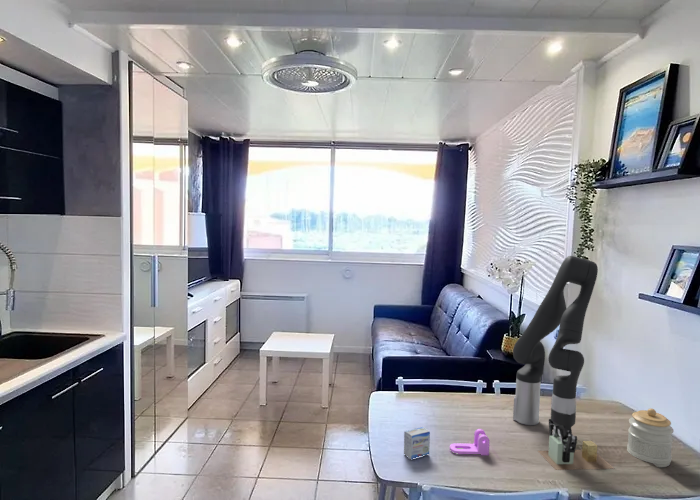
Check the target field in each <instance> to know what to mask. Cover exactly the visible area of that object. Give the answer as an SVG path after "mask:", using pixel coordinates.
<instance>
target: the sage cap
mask: <svg viewBox="0 0 700 500" xmlns="http://www.w3.org/2000/svg"><path fill="white" fill-rule="evenodd" d="M548 436H549V435H548ZM548 438H549V439H548V451H549V452H548V456H549V457H550V458H551V459H552V460H553V461H554V462H555V463H556V464H573V458H574V453H573V452H571V453H570V461H569V462H563V461H562V454H563V444H561V443H560V437H558V436H556V437H554V436H549V437H548ZM563 441H567V440H563ZM565 446H567V444H565ZM571 448H572V447H571Z"/></svg>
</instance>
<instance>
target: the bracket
mask: <svg viewBox="0 0 700 500" xmlns="http://www.w3.org/2000/svg"><path fill="white" fill-rule="evenodd" d="M473 435H474V437H473V443H465V442H464V443H462V442H461V443H460V442H459V443H458V442H456V443H455V442H454V443H450V445H449V451H450V450H451V451H452V452H454V453H458V454H481V455H480V456H489V455H490V438H489V437H488V436H487V433H486V432H485V430H484V429H483V428H478V429H475V430H474V433H473ZM457 448H463V449H457ZM452 452H451V453H452Z"/></svg>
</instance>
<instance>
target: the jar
mask: <svg viewBox="0 0 700 500" xmlns="http://www.w3.org/2000/svg"><path fill="white" fill-rule="evenodd" d="M631 416H632V417H630V418H629V419H628V422H629V424H630V425H629V426H630V427H629V428H628V429H627V432H628V435H627V436H628V438H627V439H628V440H627V445H626V450H627V452H628V453H629V454H630V455H631V456H632V457H634V458H637V459H638V460H640V461H643V462H646V463H651V464H652V465H654V466H655V467H657V468H666V467H669V466H670V465H671V463H672V449H673V447H672V446H673V441H674V439H673V437H672V434H673V433H674V432H675V431H674V428H673V427H672V426H671V425H672V422H671V420H670V419H669V418H667V417H666V416H665V415H664V414H662V413H660V412H657V411H656V410H655V409H654V408H651V407H650V408H648V409H647V410H644V409H642V410H637V411H634V412H633V413H632V415H631Z"/></svg>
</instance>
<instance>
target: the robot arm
mask: <svg viewBox="0 0 700 500" xmlns="http://www.w3.org/2000/svg"><path fill="white" fill-rule="evenodd" d="M598 271H599V270H598V264H597V263H596V262H594V261H593V260H589V259H585V258H581V257H578V256H574V255H568V256H567V257H565V258H564V260H563V261H562V262H561V264H560V266H559V268H558V271H557V273H556V274H555V276H554V280H553V282H552V284H551V286H550V288H549V289H548V292H547V293H546V295H545V297H543V300H542V302H541V303H540V304H539V306H538V308H537V309H536V311H535V314H534V315H533V317H532V319H531V320H530V322H529V324H528V325H527V327H526V329H525V330H524V331H523V332H522V334H521V335H520V337H519V338H518V339H517V341H516V342H515V343H514V346H513V348H512V349H513V350H512V355H513V359H514V360H515V362H517V363H518V364H523V365H524V366H522V367H521V368H519V369H518V370H517V372H516V380H515V395H514V397H513V410H512V420H513V421H516V422H517V423H519V424H522V425H526V426H536V425H538V424H539V422H540V404H541V383H542V382H541V381H542V377H543V375H544V371H545V361H546V350H545V347H544V344H543V343H542V340H543V339H545V338H546V337H547V336H549V335H550V334H552V333H553V332H554V331H555V330H556V329H557V328H559V329H558V334H557V337H556V339H555V342H554V344H553V346H552V348H551V350H550V351H549V355H548V363H549V365H550V367H551V368H552V369H555V370H560V371H565V372H569V373H570V374H568V375H567V374H566V375H556V376H554V378H553V381H552V382H553V383H552V394H551V395H552V396H551V406H550V418H549V419H548V433H549V434H548V436H554V437H556V436H558V437H560V443H561V444H563V454H562V461H563V462H569V461H570V453H571V452H573V453H575V450H577V449H576V447H577V443H578V437H577V435H573V432H572V427H573V426H575V425H576V420H577V419H576V416H577V386H578V381H579V377H580V374H581V372H582V370H583V367H584V364H585V357H584V355H583V354H582V353H581V352H580V351H578V350H573V349H568V348H565V347H566V346H567V345H578V344H580V343H581V341H582V336H583V330H584V323H585V318H586V313H587V311H588V308H589V307H588V306H589V303H590V301H591V298H592V296H593V295H592V294H593V292H594V288H595V285H596V282H597V278H598V277H597V276H598ZM568 283H569V284H574V285H576V286H577V285H578V286H580V290H579V294H578V295H577V296H576V298H575V300H573V302H571V304H570V305H569V306H568V307H567V303H566V298H565V293H564V291H565V288H566V285H567V284H568ZM563 440H567V441H563ZM565 444H567V446H565ZM571 447H572V448H571Z"/></svg>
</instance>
